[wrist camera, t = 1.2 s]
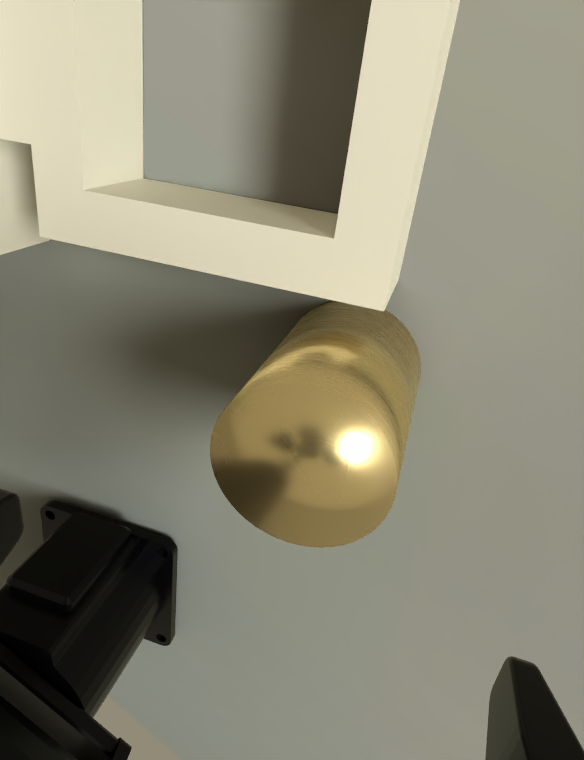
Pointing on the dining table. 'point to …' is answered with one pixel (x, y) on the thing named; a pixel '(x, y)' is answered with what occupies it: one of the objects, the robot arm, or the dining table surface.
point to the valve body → (193, 205)
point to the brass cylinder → (321, 428)
